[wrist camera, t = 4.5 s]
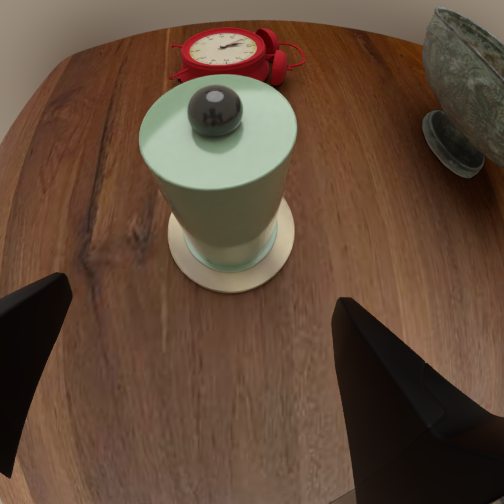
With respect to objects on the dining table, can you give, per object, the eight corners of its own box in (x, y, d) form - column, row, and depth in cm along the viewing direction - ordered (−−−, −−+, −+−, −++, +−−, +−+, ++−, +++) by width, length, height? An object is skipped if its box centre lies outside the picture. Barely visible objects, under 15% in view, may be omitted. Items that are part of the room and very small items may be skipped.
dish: (238, 320, 21) (238, 320, 20) (146, 239, 23) (143, 235, 22) (317, 224, 23) (319, 220, 23) (225, 158, 25) (225, 153, 24)
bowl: (521, 211, 25) (591, 161, 10) (431, 221, 24) (535, 135, 9) (465, 98, 30) (507, 37, 16) (367, 79, 29) (403, -14, 15)
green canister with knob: (235, 292, 21) (217, 217, 8) (166, 233, 22) (86, 115, 9) (295, 222, 22) (347, 90, 9) (226, 171, 24) (212, 29, 11)
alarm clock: (167, 36, 26) (287, 4, 24) (184, 69, 32) (293, 40, 30) (163, 83, 23) (315, 43, 21) (186, 120, 29) (317, 86, 27)
